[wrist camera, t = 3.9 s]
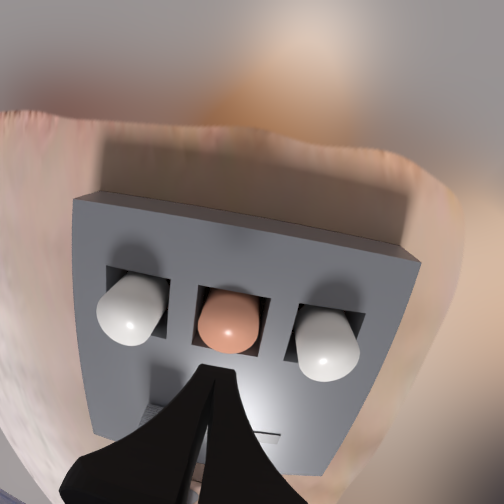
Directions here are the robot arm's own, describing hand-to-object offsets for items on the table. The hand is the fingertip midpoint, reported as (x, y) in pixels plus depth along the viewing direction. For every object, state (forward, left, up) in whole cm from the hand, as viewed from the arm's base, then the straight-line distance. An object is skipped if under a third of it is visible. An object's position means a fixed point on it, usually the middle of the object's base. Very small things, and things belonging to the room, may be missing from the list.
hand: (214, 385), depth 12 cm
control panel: (+2, -3, -8) cm, 9 cm away
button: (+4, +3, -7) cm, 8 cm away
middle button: (0, 0, -8) cm, 8 cm away
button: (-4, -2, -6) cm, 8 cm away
